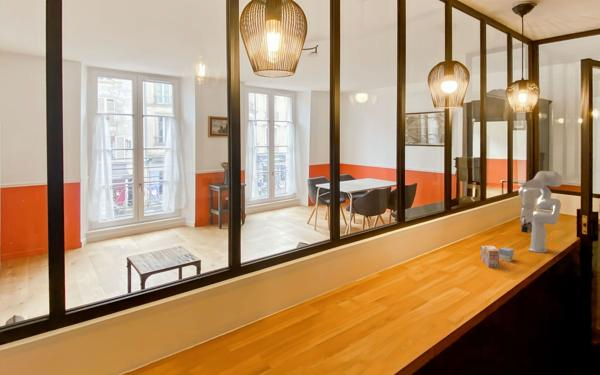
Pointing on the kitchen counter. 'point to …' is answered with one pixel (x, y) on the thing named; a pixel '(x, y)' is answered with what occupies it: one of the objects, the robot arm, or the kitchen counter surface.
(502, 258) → the tower base
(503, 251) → the tower top
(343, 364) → the kitchen counter surface
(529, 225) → the walnut block
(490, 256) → the stack of blocks
